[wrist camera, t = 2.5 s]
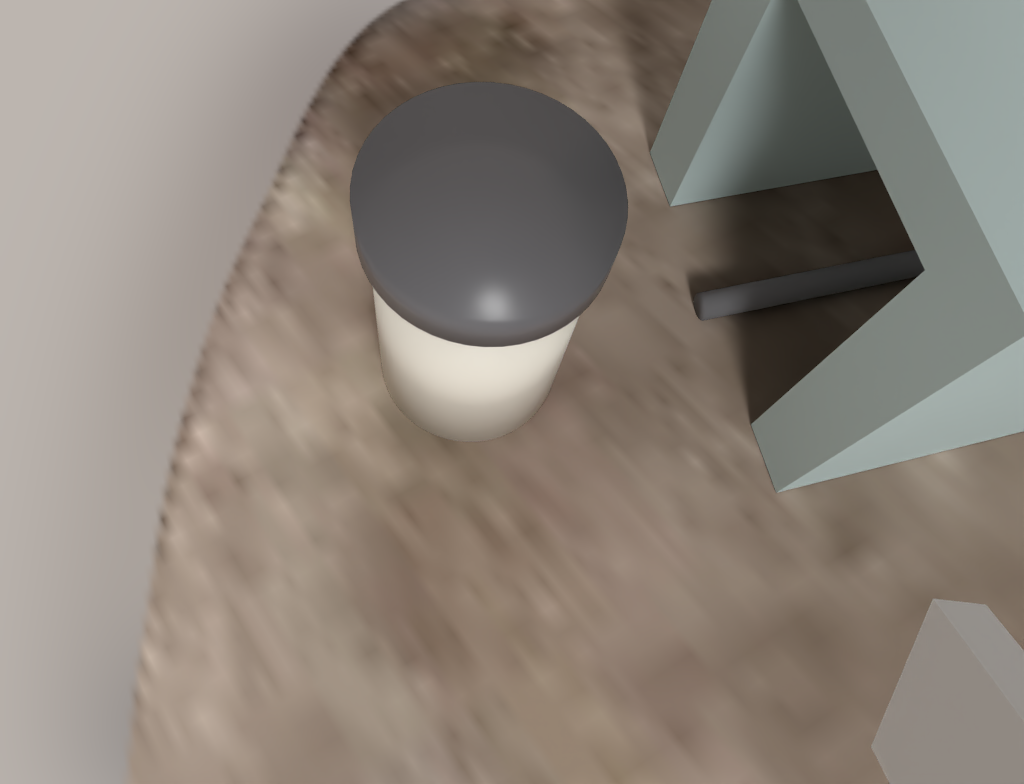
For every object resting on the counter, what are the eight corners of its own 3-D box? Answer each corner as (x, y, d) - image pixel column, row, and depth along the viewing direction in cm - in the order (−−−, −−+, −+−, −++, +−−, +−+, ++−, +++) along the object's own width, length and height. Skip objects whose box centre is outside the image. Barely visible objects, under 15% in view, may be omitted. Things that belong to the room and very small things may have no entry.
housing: (918, 108, 35) (1175, -206, 23) (1074, 418, 31) (1493, 227, 19) (649, 152, 33) (780, -169, 21) (776, 492, 29) (1032, 330, 17)
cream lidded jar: (535, 260, 31) (584, 65, 22) (586, 427, 29) (663, 290, 20) (355, 293, 30) (326, 102, 21) (395, 470, 28) (381, 345, 19)
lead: (1082, 222, 34) (1101, 209, 33) (1094, 244, 34) (1112, 231, 33) (691, 300, 31) (699, 288, 30) (700, 325, 31) (709, 312, 30)
